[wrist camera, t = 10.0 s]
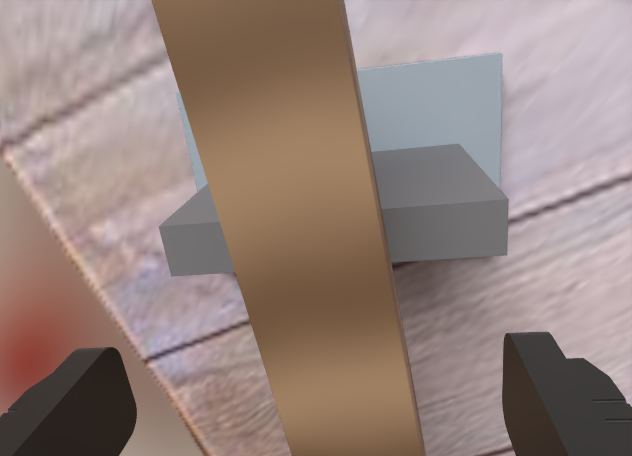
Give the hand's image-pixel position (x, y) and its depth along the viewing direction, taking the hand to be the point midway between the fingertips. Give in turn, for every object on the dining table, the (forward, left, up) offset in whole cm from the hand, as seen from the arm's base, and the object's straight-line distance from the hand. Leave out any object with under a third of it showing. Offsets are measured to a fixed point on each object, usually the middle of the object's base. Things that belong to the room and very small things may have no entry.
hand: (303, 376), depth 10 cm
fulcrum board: (0, 0, -18) cm, 18 cm away
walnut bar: (0, 0, -7) cm, 7 cm away
